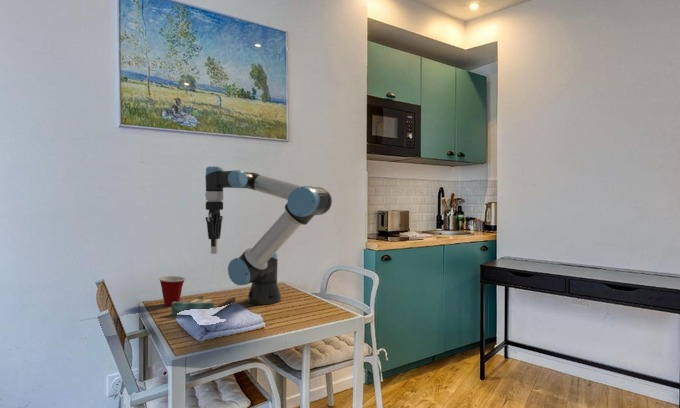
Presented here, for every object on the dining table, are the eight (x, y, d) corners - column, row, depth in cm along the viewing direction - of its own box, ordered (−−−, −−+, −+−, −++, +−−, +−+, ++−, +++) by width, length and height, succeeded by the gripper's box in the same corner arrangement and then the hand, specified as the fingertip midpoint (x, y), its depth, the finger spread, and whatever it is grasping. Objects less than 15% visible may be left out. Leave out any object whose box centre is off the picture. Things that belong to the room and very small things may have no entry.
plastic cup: (184, 306, 172) (184, 279, 172) (157, 308, 169) (157, 280, 169) (186, 300, 182) (186, 274, 182) (160, 302, 179) (160, 275, 179)
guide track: (235, 301, 181) (235, 290, 181) (211, 317, 157) (211, 304, 157) (200, 300, 183) (200, 289, 183) (171, 315, 160) (171, 302, 160)
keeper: (211, 310, 168) (211, 299, 168) (203, 314, 161) (203, 303, 161) (196, 309, 169) (196, 298, 169) (187, 314, 162) (187, 303, 162)
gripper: (212, 201, 185) (212, 251, 185) (199, 201, 172) (199, 255, 172) (228, 201, 184) (228, 251, 184) (216, 201, 171) (216, 255, 171)
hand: (214, 253), depth 178 cm, fingers closed
